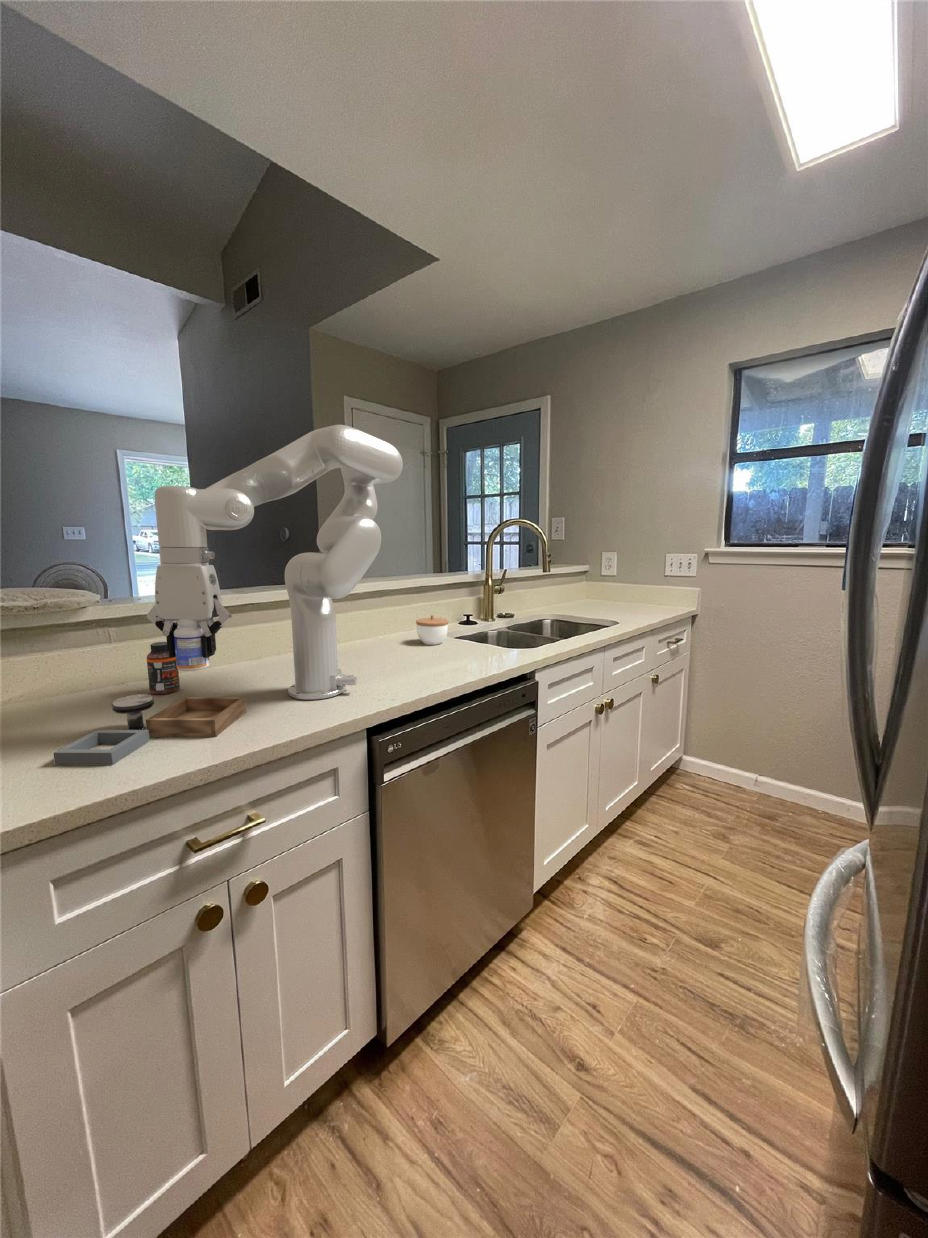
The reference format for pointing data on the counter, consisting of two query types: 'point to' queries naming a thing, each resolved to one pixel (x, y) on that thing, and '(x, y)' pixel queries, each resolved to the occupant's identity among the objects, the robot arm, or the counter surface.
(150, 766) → the counter surface
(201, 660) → the pill bottle
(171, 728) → the tray
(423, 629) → the lidded jar
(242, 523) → the robot arm
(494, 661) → the counter surface
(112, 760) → the socket collar
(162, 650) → the supplement bottle
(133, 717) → the metal mushroom knob
